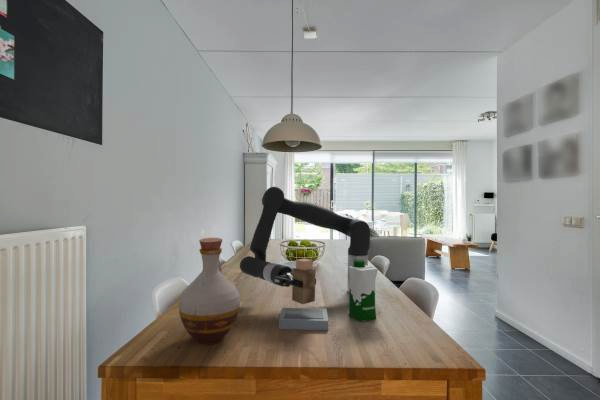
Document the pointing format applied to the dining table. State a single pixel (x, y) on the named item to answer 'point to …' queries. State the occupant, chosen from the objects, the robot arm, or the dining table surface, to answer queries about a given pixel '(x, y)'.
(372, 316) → the milk carton
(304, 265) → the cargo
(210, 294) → the jug
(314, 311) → the dock
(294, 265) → the serving bowl
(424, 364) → the dining table surface
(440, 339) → the dining table surface
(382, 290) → the dining table surface
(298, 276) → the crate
